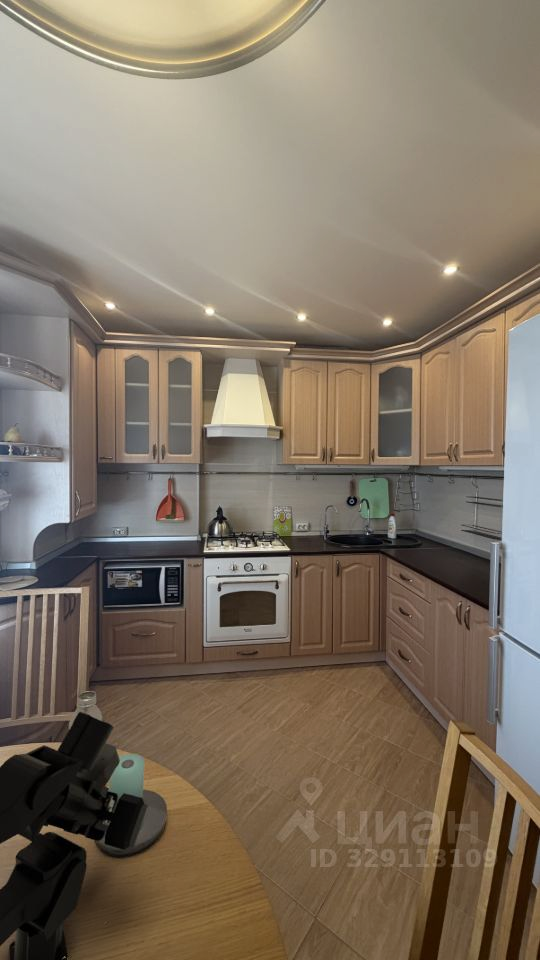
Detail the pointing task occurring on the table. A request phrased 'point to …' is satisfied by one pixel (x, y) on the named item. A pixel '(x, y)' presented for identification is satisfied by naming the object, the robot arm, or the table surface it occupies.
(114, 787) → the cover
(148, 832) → the turntable
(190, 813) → the table surface
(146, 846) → the base
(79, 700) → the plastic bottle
